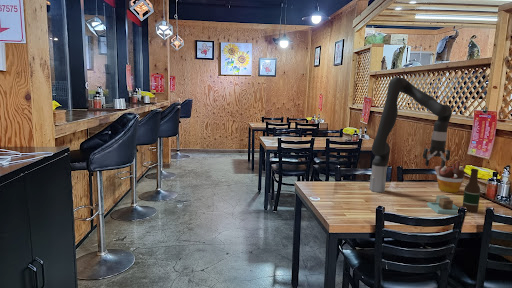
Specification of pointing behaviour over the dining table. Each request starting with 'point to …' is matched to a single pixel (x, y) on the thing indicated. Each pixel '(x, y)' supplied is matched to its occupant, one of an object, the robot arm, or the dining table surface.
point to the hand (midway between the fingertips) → (434, 166)
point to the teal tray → (442, 211)
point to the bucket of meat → (450, 177)
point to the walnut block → (445, 203)
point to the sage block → (440, 197)
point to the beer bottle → (472, 193)
